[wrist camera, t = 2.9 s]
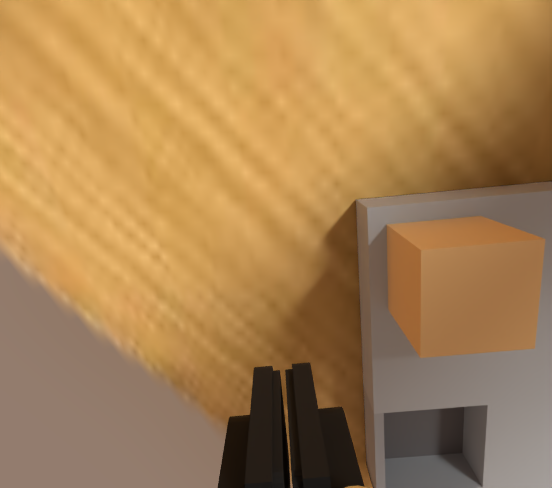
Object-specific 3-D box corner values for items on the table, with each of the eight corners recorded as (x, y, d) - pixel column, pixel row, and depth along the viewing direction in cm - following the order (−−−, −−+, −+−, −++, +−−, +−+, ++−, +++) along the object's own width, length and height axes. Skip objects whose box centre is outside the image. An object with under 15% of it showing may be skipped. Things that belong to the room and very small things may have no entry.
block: (480, 215, 20) (545, 239, 15) (476, 301, 21) (534, 348, 16) (386, 224, 20) (420, 250, 15) (388, 309, 21) (420, 357, 17)
